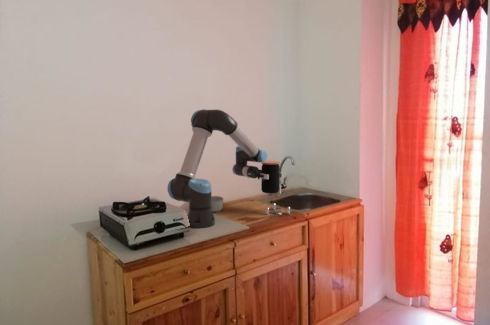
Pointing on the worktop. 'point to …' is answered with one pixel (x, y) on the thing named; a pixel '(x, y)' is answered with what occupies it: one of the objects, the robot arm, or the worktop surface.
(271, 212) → the pin ring
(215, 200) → the teacup
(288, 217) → the worktop surface
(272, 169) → the coffee jar
